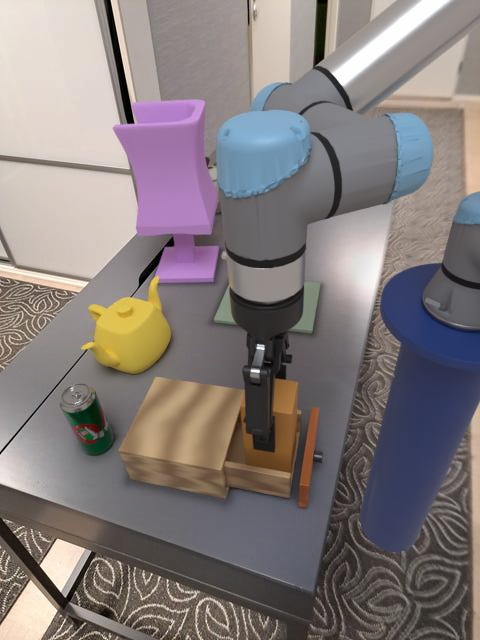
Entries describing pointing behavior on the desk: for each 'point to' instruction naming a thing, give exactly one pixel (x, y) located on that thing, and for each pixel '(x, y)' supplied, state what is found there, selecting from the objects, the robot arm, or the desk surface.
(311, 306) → the mat
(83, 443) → the soda can
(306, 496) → the drawer
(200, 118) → the vase
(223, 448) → the cabinet
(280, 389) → the orange rectangular block
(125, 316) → the teapot
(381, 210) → the desk surface
